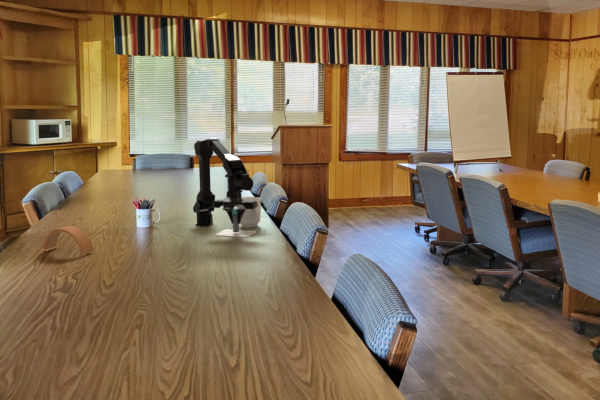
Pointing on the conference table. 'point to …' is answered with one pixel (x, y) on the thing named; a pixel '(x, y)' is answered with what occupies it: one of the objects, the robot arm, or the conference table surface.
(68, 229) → the arch
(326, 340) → the conference table surface
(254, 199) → the mug
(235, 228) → the marker
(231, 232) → the paper
